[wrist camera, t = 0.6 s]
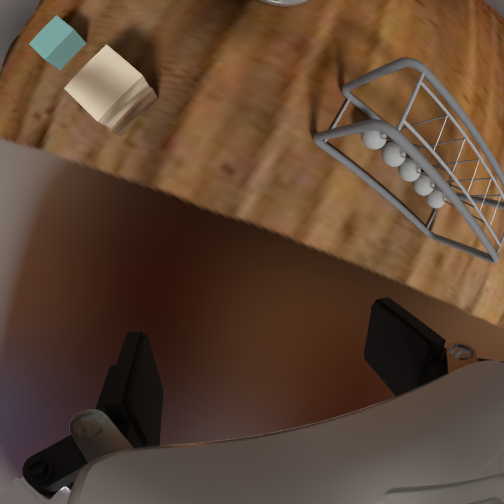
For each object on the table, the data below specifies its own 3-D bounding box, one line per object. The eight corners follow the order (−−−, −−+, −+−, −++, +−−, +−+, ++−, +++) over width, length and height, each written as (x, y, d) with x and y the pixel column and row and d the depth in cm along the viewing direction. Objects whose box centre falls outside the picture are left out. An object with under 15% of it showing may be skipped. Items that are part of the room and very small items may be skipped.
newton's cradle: (306, 139, 38) (379, 122, 21) (338, 86, 36) (413, 50, 19) (428, 238, 46) (500, 267, 29) (449, 193, 45) (522, 208, 28)
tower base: (126, 70, 30) (117, 58, 26) (158, 99, 33) (153, 89, 28) (91, 106, 31) (77, 99, 26) (121, 136, 33) (111, 131, 28)
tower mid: (117, 59, 26) (106, 44, 21) (150, 88, 28) (142, 75, 23) (80, 97, 26) (64, 88, 21) (111, 128, 28) (97, 121, 24)
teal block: (69, 29, 26) (56, 15, 21) (86, 43, 28) (74, 29, 22) (44, 54, 26) (29, 43, 21) (60, 70, 28) (44, 59, 23)
